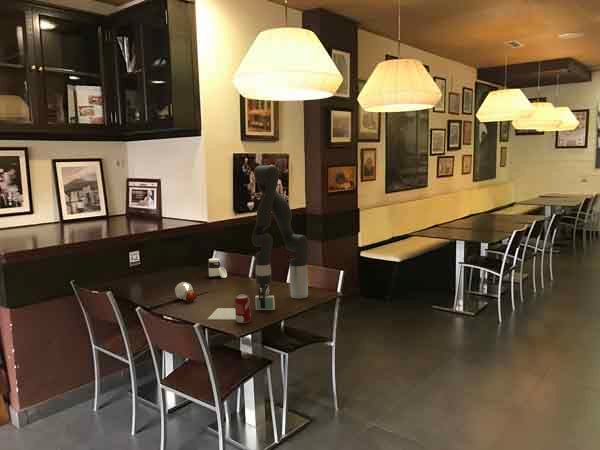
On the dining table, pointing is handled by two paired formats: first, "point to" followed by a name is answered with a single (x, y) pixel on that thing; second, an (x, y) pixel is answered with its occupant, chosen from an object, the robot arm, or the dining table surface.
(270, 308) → the card deck
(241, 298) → the soda can
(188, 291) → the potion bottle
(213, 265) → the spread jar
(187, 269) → the dining table surface
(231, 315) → the mat
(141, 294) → the dining table surface
